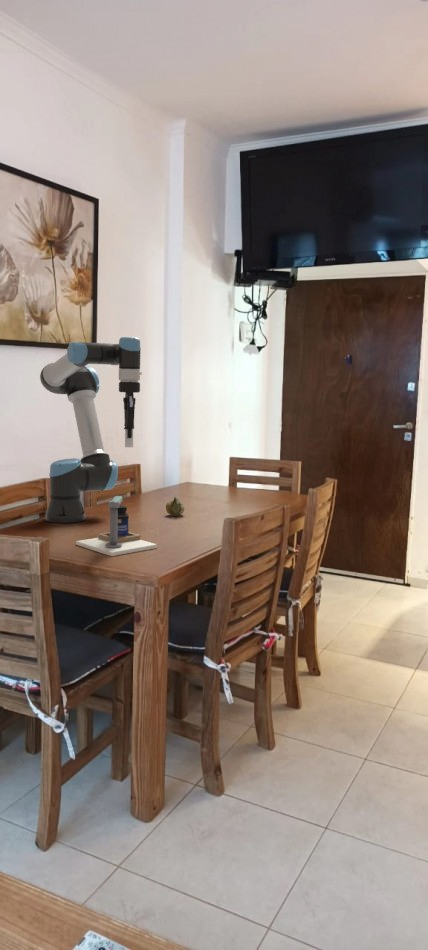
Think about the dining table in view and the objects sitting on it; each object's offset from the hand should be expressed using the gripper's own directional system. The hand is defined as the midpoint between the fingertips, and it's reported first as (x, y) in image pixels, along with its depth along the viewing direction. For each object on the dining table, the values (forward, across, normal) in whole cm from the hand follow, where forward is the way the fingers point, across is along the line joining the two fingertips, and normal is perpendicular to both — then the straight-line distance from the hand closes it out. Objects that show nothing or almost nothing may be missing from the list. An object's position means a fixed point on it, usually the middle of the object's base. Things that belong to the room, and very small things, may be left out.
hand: (129, 447), depth 255 cm
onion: (+31, +26, -22) cm, 46 cm away
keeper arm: (+16, -26, +7) cm, 32 cm away
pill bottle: (+29, -20, +5) cm, 36 cm away
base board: (+30, -26, +7) cm, 41 cm away
